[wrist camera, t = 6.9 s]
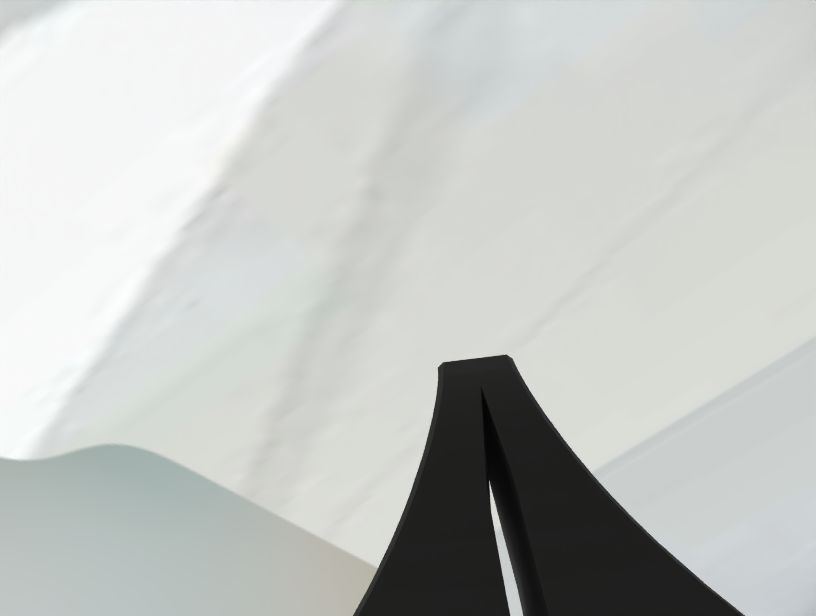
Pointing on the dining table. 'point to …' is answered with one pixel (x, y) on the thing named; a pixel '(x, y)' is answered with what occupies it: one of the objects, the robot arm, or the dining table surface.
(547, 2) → the dining table surface
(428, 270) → the dining table surface
